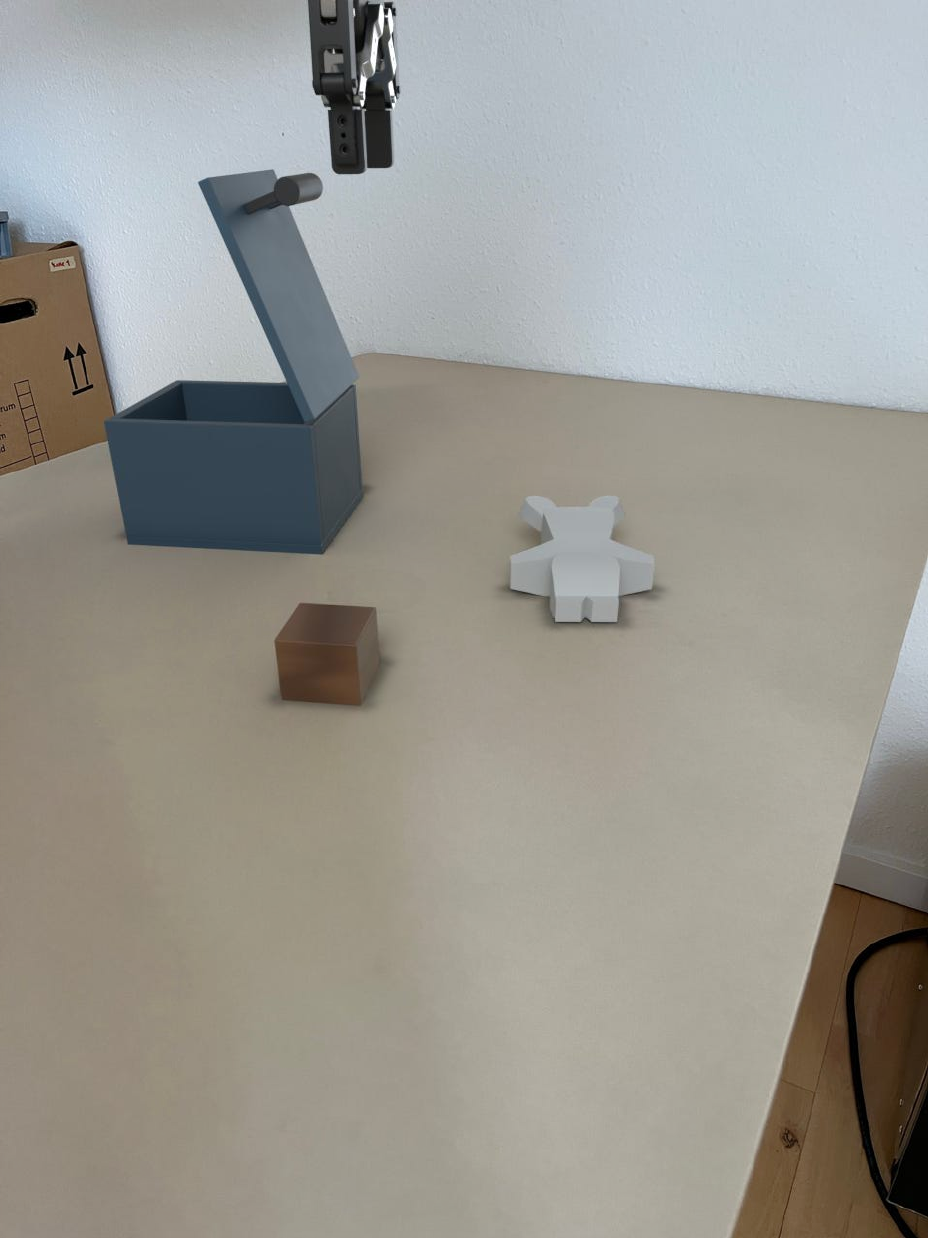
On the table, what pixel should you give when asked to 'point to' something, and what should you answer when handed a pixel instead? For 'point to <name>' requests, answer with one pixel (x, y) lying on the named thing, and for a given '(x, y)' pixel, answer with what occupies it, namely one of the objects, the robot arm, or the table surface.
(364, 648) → the block
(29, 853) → the table surface
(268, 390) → the bin
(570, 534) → the white teddy bear figure
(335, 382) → the bin lid
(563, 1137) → the table surface
